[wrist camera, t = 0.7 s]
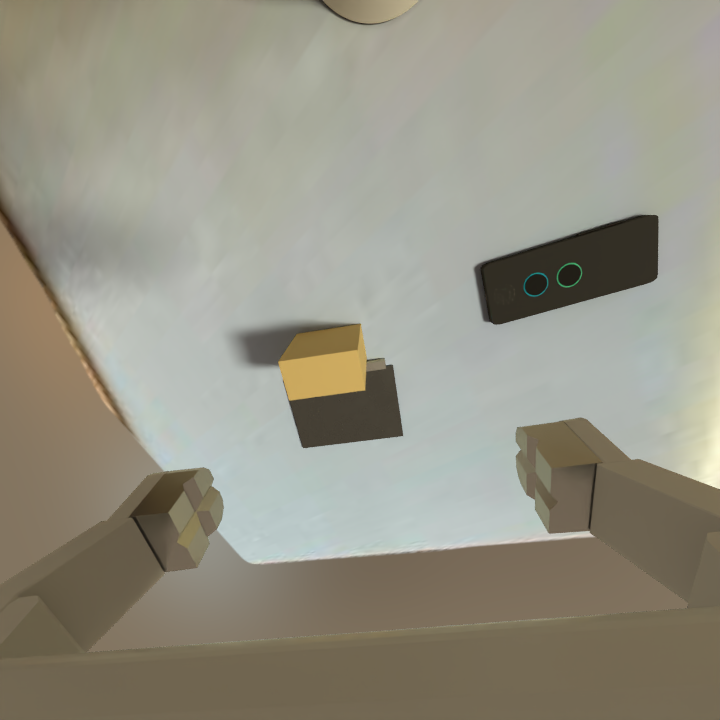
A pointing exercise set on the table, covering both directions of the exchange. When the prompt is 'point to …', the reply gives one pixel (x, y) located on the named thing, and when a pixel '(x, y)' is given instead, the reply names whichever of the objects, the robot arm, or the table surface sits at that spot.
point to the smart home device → (572, 270)
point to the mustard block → (324, 363)
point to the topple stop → (352, 411)
